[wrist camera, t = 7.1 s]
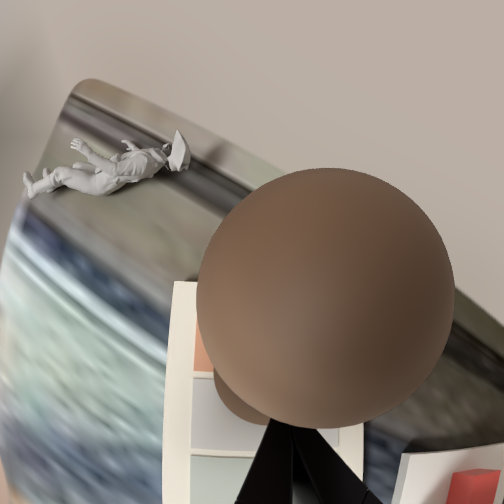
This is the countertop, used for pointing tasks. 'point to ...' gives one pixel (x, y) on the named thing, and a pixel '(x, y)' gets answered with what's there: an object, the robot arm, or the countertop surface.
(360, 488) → the robot arm
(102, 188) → the soldier figure
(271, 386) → the pawn
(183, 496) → the game track
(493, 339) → the countertop surface
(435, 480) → the base
